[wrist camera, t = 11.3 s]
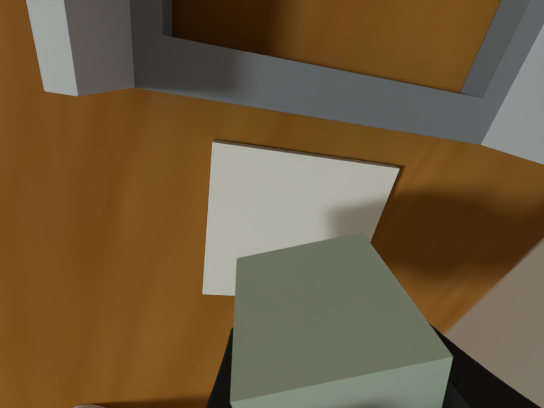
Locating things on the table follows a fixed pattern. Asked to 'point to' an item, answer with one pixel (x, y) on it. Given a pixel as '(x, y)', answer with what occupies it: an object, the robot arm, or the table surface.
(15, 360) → the table surface
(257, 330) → the block
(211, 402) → the robot arm
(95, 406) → the smoothie
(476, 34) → the table surface
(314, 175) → the tile
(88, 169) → the table surface
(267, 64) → the grey shallow open box
